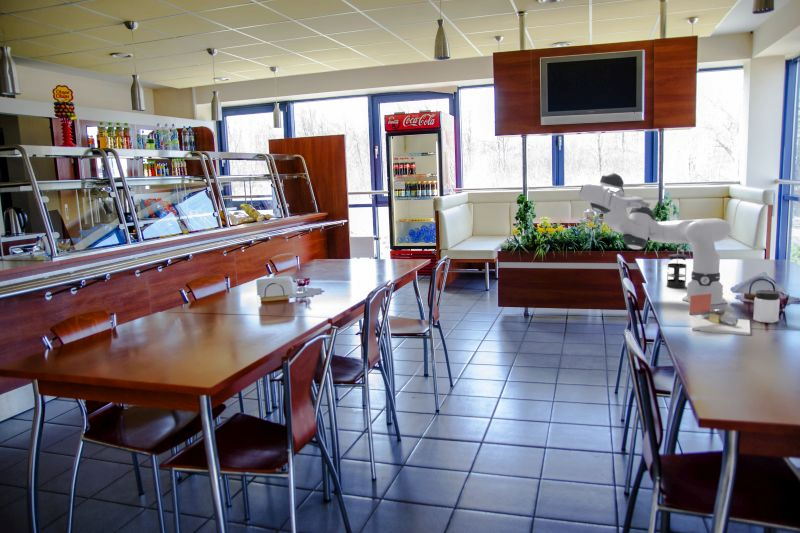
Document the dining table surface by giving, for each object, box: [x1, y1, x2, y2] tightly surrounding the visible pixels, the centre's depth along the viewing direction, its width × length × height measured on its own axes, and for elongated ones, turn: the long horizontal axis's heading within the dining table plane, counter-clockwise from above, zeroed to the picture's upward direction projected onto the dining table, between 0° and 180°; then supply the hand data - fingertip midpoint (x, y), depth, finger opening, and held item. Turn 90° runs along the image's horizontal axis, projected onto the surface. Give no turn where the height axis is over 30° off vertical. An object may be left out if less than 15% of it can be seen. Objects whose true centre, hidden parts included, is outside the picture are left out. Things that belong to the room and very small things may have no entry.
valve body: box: [700, 312, 739, 326], centre depth 254 cm, size 16×5×4 cm, turn 17°
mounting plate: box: [691, 315, 751, 336], centre depth 251 cm, size 22×20×1 cm
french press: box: [666, 243, 688, 289], centre depth 332 cm, size 12×9×23 cm
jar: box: [752, 289, 781, 324], centre depth 257 cm, size 9×8×12 cm
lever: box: [688, 294, 726, 317], centre depth 251 cm, size 16×4×8 cm, turn 107°
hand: (645, 205), depth 265 cm, fingers open, 8 cm apart
